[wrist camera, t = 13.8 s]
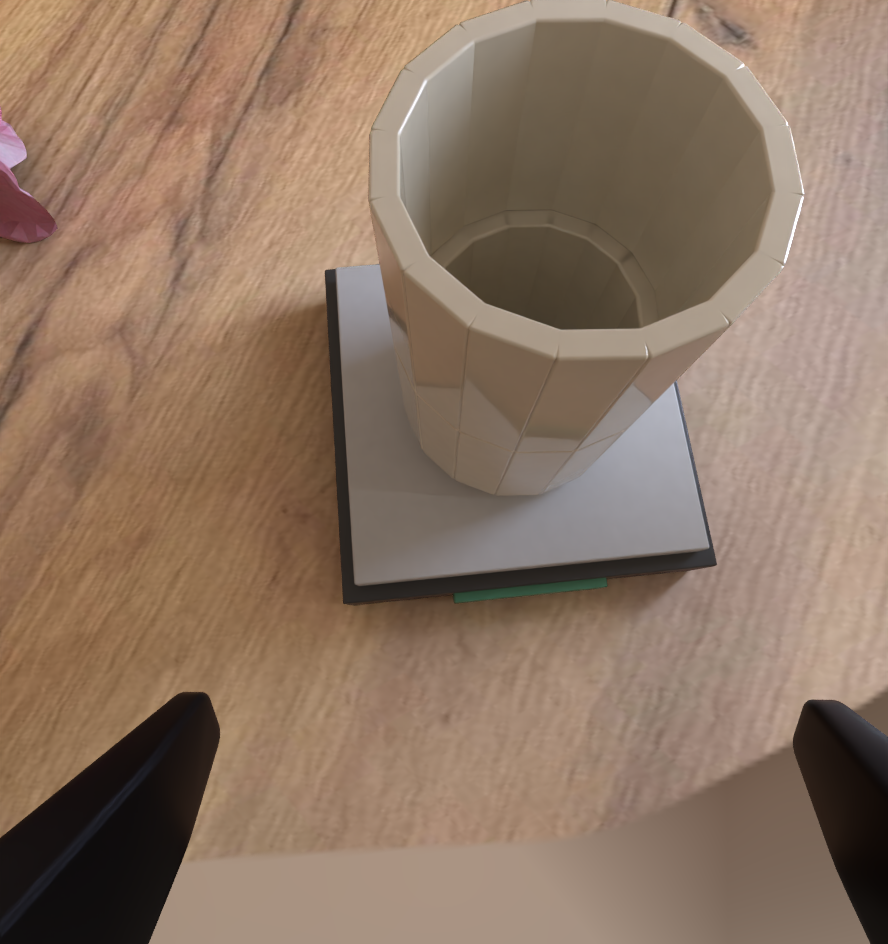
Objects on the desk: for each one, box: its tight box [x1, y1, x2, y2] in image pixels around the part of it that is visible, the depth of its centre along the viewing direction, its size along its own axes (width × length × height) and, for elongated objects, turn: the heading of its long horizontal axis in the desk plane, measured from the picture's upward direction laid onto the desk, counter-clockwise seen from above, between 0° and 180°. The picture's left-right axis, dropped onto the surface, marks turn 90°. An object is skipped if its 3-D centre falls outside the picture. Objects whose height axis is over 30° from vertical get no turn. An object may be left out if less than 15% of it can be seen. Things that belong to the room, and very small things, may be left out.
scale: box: [325, 264, 717, 605], centre depth 20 cm, size 12×12×3 cm
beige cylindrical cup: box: [368, 0, 804, 496], centre depth 14 cm, size 7×7×10 cm
